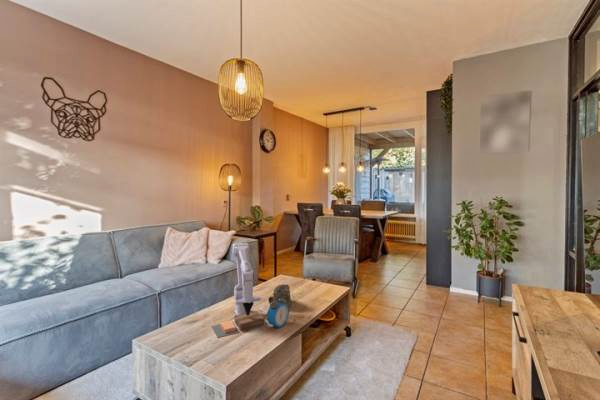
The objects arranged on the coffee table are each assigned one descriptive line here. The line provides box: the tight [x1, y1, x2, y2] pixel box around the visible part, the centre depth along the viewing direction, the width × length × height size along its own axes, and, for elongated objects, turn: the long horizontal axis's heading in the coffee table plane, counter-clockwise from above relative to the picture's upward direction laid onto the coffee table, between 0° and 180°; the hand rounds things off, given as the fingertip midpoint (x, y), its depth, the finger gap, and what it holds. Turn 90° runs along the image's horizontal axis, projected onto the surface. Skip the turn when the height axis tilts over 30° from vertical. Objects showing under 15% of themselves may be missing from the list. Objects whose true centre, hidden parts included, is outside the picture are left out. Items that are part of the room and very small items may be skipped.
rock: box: [268, 283, 292, 307], centre depth 197 cm, size 18×14×15 cm
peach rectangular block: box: [220, 320, 237, 333], centre depth 164 cm, size 9×6×2 cm, turn 30°
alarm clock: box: [266, 298, 290, 329], centre depth 169 cm, size 13×6×15 cm, turn 142°
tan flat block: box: [234, 310, 265, 332], centre depth 170 cm, size 12×14×4 cm
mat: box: [211, 321, 241, 338], centre depth 163 cm, size 14×12×1 cm
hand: (247, 314), depth 170 cm, fingers closed
